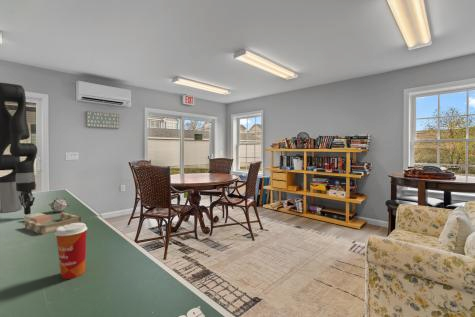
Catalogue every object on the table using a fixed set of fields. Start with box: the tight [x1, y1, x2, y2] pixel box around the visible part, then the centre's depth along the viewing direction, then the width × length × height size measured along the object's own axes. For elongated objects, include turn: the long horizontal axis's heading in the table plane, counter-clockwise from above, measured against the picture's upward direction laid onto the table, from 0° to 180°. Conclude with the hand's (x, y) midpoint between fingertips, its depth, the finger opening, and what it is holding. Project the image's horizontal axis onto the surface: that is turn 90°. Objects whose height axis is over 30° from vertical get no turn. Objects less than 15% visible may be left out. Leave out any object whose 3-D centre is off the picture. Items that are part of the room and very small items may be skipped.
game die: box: [48, 197, 69, 213], centre depth 134 cm, size 9×8×10 cm
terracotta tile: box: [30, 214, 52, 225], centre depth 116 cm, size 6×6×3 cm
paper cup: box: [54, 222, 88, 280], centre depth 68 cm, size 8×8×14 cm
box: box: [24, 211, 82, 235], centre depth 110 cm, size 17×15×4 cm
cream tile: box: [23, 212, 46, 221], centre depth 119 cm, size 6×6×3 cm
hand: (27, 214), depth 123 cm, fingers closed
